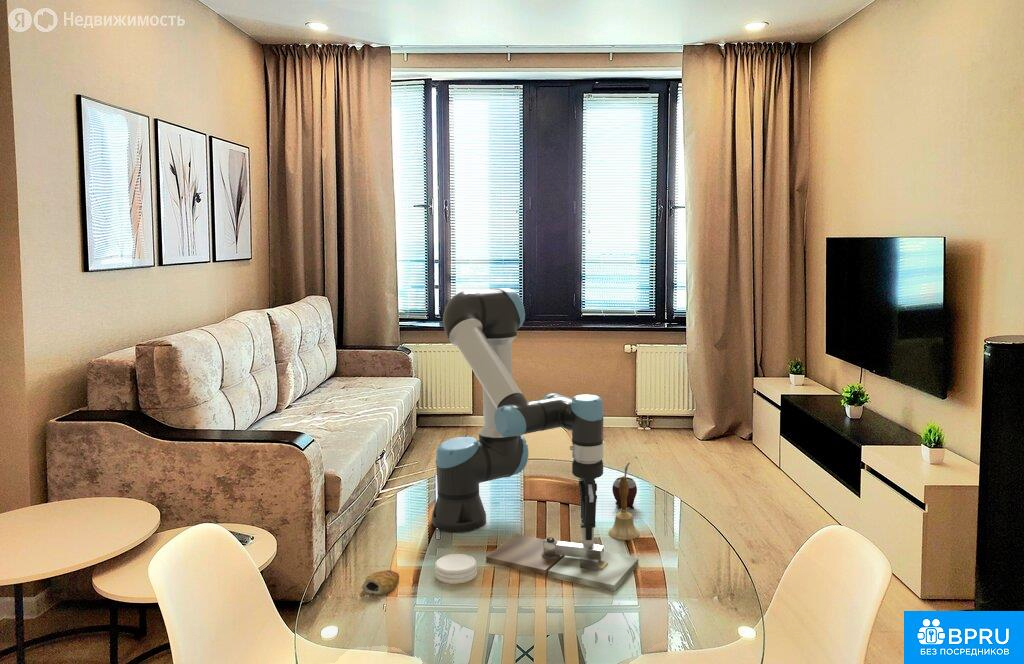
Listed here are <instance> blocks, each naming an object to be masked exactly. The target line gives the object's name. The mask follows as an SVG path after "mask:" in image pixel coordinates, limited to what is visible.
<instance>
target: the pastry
mask: <svg viewBox="0 0 1024 664" xmlns="http://www.w3.org/2000/svg"><path fill="white" fill-rule="evenodd" d="M399 581H400V574H399V572H398V571H397V572H396V571H395V570H392V569H387V570H380V571H376V572H372V573H371V574H370V575H368V576H367V577H366V578H365V581H364V582H363V584H362V585H361V589H362V590H363V592H364V591H365V593H366V592H367V594H371V593H374V594H373V595H377V596H378V595H379V596H381V595H387V594H388V593H390V592H391V591H393V590H394V589H395V588H396V586H397V585H398V584H397V583H399ZM396 584H397V585H396ZM393 588H394V589H393ZM392 589H393V590H392Z"/></svg>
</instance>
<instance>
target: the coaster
mask: <svg viewBox="0 0 1024 664" xmlns="http://www.w3.org/2000/svg"><path fill="white" fill-rule="evenodd" d="M477 565H478V564H477V561H476V559H475V557H473V556H471V555H468V554H463V553H454V554H451V553H450V554H446V555H443V556H441V557H440V558H439V557H438V559H437V560H436V561H435V563H434V571H435V572H434V575H435V578H436V580H438V581H439V582H441V583H444V584H451V585H458V583H460V584H464V583H469V582H470V581H472V580H473V579H475V578H476V576H477V574H478V572H477V570H478V569H477Z"/></svg>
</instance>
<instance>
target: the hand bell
mask: <svg viewBox="0 0 1024 664" xmlns="http://www.w3.org/2000/svg"><path fill="white" fill-rule="evenodd" d="M620 477H621V480H620V483H619V494H620V497H621V509H620V511H619V512H617V513H616V514H615V518H614V523H613V525H612V527H611V528H610V529H609V530H608V533H607V534H608V536H609V537H611V538H613V539H616V540H621V541H631V540H635V539H637V538H638V537H639V536H640V534H641V533H640V531H639V530H638V529H637V528H636V526H635V524H634V517H633V515H632V513H630V512H628V508H627V497H628V492H629V486H628V483H627V480H626V477H627V476H626V477H624V476H620Z"/></svg>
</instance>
